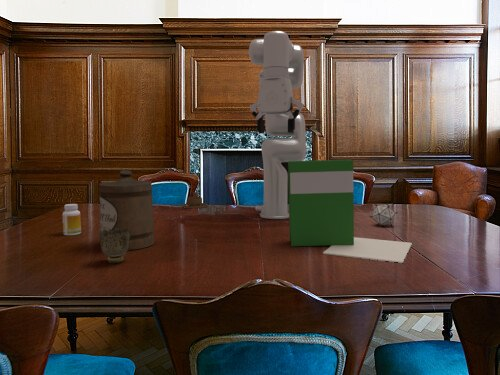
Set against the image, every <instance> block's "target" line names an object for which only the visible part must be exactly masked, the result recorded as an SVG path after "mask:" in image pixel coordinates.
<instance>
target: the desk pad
mask: <svg viewBox="0 0 500 375" xmlns="http://www.w3.org/2000/svg"><path fill="white" fill-rule="evenodd" d="M412 245H413V243H412V242H408V241H407V242H406V241H396V240H395V241H394V240H386V239H385V240H384V239H376V238H365V237H356V236H354V245H330V246H329V247H328V248H327V249H326V250H324V251H322V254H323V255H328V256H336V257H346V258H353V259H354V258H355V259H360V258H361V260H362V259H363V260H369V259H370V260H371V261H377V260H378V262H385V261H389V262H388V263H394V262H398V263H397V264H402V263H403V264H404V262H405V260H406V258H407V256H408V254H409V251H410V249H411V247H412ZM407 253H408V254H407ZM404 259H405V260H404ZM370 260H369V261H370Z"/></svg>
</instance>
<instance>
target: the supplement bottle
mask: <svg viewBox="0 0 500 375" xmlns="http://www.w3.org/2000/svg"><path fill="white" fill-rule="evenodd" d="M63 208H64V211H63V212H62V229H63V230H62V233H63V235H64V236H76V235H80V234H81V233H82V222H81V220H82V219H81V218H82V216H81V212H80V210H78V209H79V206H78V203H68V204H67V203H66V204H64V207H63Z"/></svg>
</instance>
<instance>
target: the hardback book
mask: <svg viewBox="0 0 500 375" xmlns="http://www.w3.org/2000/svg"><path fill="white" fill-rule="evenodd" d="M287 168H288V169H287V170H288V171H287V175H288V182H287V183H288V213H289V218H288V221H289V227H288V228H289V242H291V243H290V244H291V245H290V246H291V247H313V246H317V247H319V246H320V247H321V246H332V245H354V237H355V234H354V232H355V230H354V229H355V228H354V227H355V226H354V225H355V224H354V222H355V220H354V218H355V216H354V215H355V214H354V213H355V212H354V208H355V207H354V206H355V205H354V201H355V200H354V160H353V159H328V160H327V159H326V160H325V159H323V160H322V159H321V160H319V159H318V160H303V161H288V162H287Z"/></svg>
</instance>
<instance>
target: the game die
mask: <svg viewBox="0 0 500 375" xmlns="http://www.w3.org/2000/svg"><path fill="white" fill-rule="evenodd" d="M374 205H375V208H374V211H373V213H372V215H370V216H369V218H373V220H375V221H376V223H377V224H378V225H379V227H382V226H383V225H384V226H385V225H386V226H387V225H390V226H391V227H392V226H393V224H392V222H393V221H394V219H395V216H396V214H397V215H398V213H399V212H397V211H394V209H392V208H391V207H390V205H389V204H388V202H387V203H386V204H379V205H378V204H377V203H374Z"/></svg>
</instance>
